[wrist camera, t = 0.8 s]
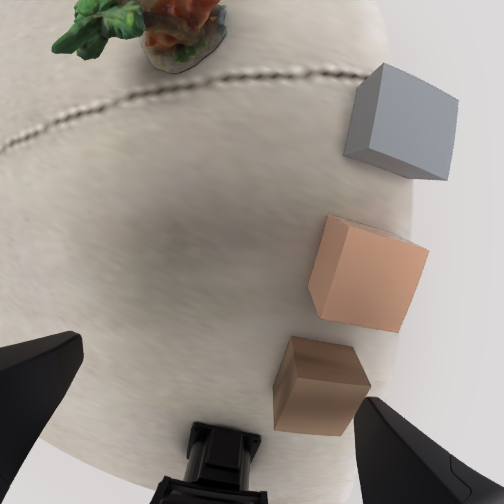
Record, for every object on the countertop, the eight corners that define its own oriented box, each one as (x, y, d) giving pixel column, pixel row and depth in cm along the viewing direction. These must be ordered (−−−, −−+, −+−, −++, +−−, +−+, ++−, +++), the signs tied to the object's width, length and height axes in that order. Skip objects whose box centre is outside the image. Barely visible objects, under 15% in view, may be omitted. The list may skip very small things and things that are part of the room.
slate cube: (407, 178, 18) (447, 180, 13) (342, 155, 17) (368, 148, 13) (419, 114, 16) (458, 100, 11) (356, 87, 16) (383, 62, 11)
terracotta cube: (371, 300, 20) (398, 332, 15) (307, 285, 20) (319, 318, 15) (393, 233, 19) (429, 250, 14) (328, 214, 18) (349, 226, 14)
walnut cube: (329, 394, 22) (340, 436, 17) (272, 386, 22) (274, 430, 17) (352, 346, 21) (371, 386, 16) (291, 335, 21) (297, 377, 16)
